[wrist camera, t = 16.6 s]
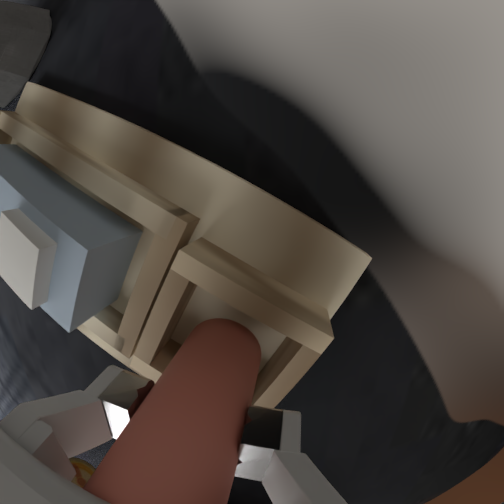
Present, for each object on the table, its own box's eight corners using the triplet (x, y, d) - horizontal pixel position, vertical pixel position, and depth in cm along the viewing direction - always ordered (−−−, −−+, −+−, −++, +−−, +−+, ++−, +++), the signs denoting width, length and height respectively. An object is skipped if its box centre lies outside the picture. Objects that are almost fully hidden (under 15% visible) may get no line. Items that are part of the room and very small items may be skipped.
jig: (-5, 233, 15) (-37, 242, 12) (36, 83, 12) (1, 75, 9) (240, 417, 15) (229, 459, 12) (366, 252, 12) (391, 276, 9)
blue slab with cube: (2, 199, 13) (-53, 209, 9) (15, 144, 12) (-43, 144, 8) (117, 299, 13) (54, 343, 8) (142, 231, 12) (69, 257, 7)
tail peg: (181, 363, 11) (86, 514, 4) (198, 306, 10) (67, 475, 3) (247, 389, 11) (198, 561, 3) (272, 335, 10) (231, 546, 3)
